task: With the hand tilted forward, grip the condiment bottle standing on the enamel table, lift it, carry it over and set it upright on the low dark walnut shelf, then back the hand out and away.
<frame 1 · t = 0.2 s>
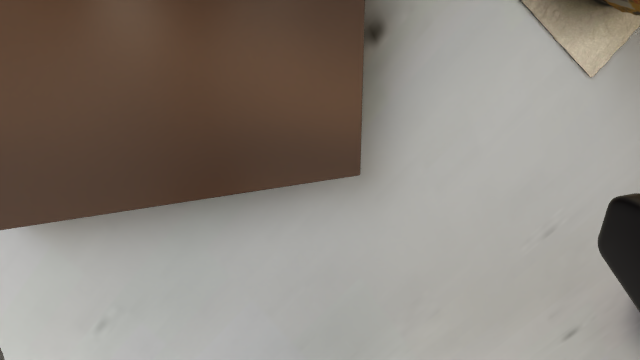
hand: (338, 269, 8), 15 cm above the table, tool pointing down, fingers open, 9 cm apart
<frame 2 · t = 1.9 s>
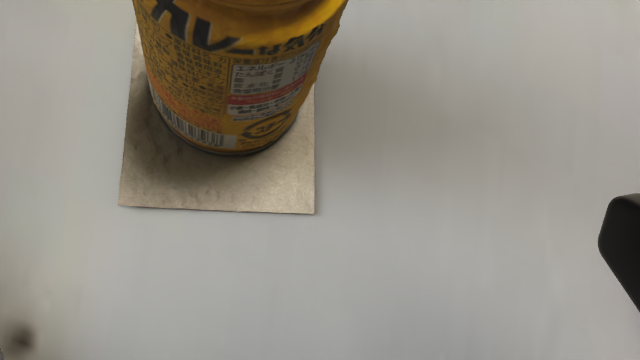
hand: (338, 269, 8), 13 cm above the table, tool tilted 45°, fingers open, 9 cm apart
condiment: (224, 109, 23), on the table
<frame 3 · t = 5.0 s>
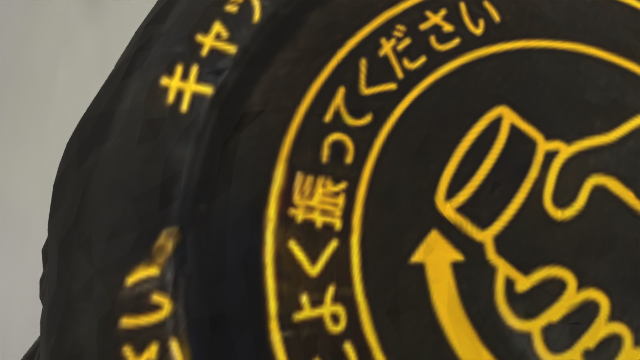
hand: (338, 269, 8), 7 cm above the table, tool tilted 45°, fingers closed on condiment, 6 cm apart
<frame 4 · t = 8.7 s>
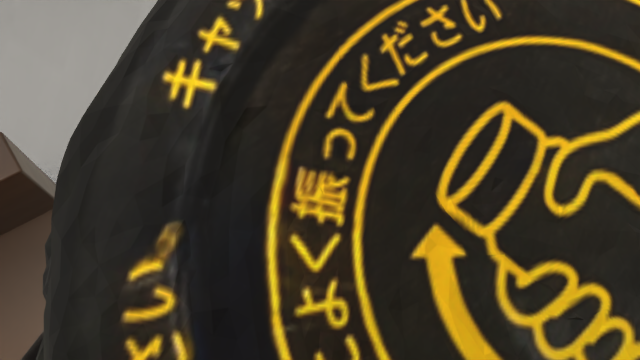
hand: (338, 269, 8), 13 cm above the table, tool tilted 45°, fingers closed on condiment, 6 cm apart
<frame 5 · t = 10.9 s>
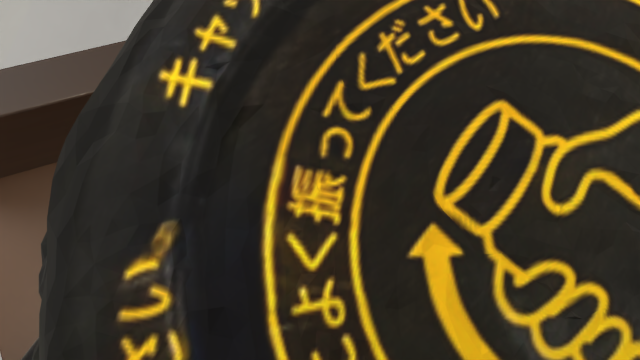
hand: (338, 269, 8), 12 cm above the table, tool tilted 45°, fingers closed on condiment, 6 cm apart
shelf: (267, 356, 19), on the table
when the fingers open (9 cm above the table, at t = 12.5 s): condiment stays where it is, resting on shelf.
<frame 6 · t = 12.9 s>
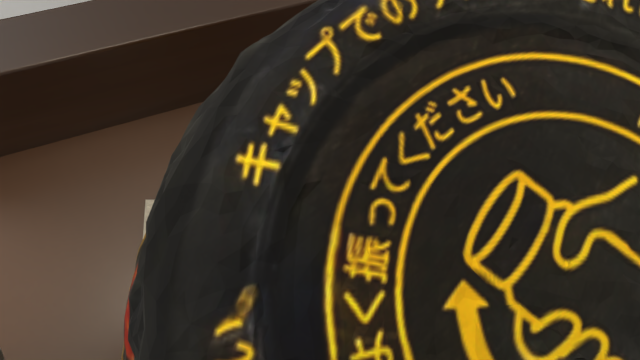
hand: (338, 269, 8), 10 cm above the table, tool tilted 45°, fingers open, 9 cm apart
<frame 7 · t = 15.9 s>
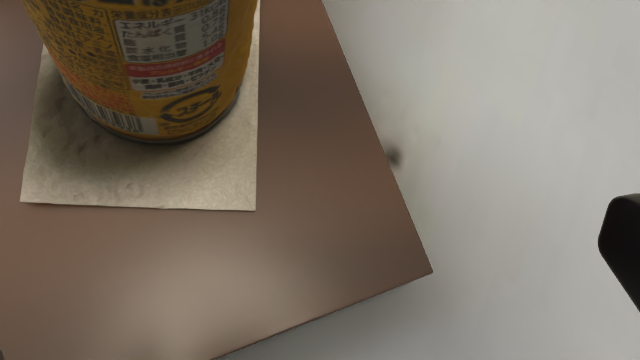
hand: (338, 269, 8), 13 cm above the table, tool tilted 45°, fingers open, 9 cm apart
condiment: (153, 91, 20), point 2 cm above the table, touching shelf
shelf: (165, 121, 22), on the table
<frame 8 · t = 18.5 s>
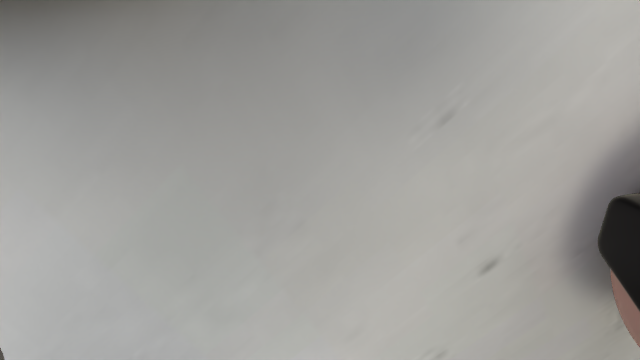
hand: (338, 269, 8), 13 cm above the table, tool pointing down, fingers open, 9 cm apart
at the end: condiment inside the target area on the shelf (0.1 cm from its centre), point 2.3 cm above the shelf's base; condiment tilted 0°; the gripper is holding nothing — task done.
